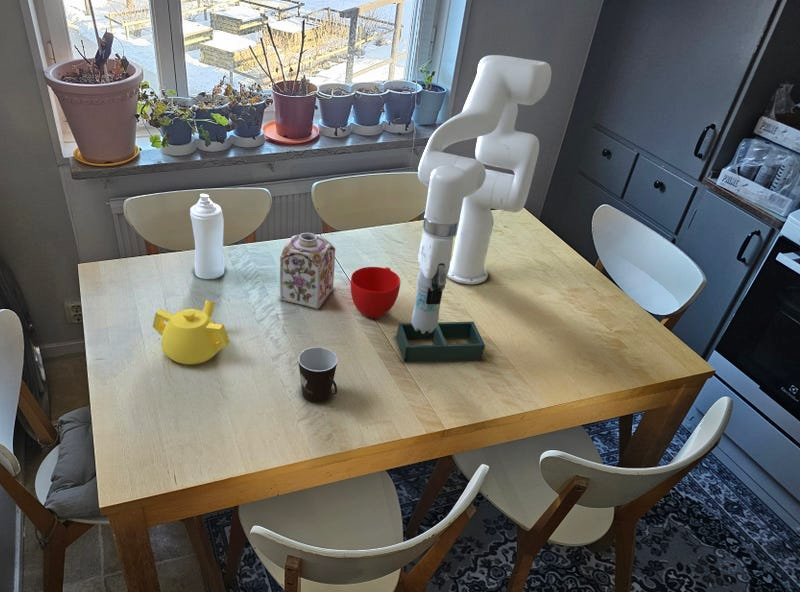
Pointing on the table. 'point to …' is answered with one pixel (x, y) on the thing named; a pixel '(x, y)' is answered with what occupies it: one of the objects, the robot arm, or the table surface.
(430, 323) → the bottle
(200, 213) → the spray can
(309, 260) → the decorative jar
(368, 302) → the ceramic cup
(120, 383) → the table surface
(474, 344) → the tray
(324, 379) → the coffee mug
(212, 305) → the teapot
